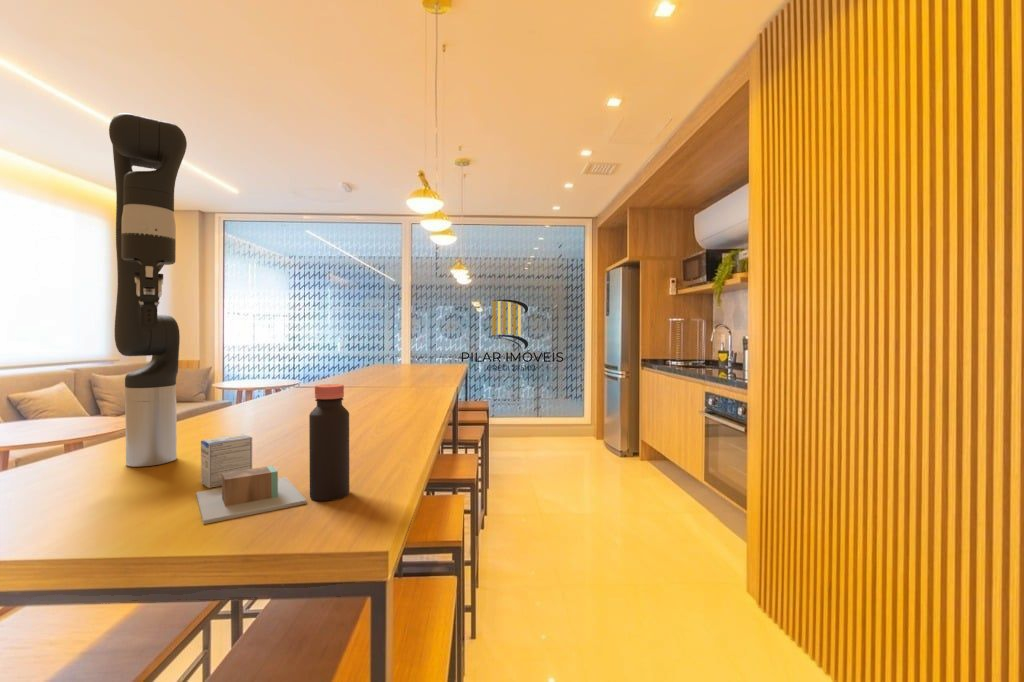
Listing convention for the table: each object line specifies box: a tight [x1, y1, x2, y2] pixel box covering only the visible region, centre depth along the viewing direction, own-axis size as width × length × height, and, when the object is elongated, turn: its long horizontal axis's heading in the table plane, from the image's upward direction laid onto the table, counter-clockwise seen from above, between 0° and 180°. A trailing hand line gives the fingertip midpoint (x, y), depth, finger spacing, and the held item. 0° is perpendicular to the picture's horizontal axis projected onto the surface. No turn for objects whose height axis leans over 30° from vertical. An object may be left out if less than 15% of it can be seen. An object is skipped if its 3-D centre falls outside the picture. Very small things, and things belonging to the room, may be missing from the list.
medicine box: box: [200, 433, 253, 489], centre depth 95 cm, size 8×4×9 cm, turn 141°
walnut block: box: [221, 465, 279, 507], centre depth 84 cm, size 4×4×8 cm
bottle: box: [308, 383, 350, 502], centre depth 87 cm, size 7×7×20 cm
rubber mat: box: [195, 476, 307, 525], centre depth 85 cm, size 16×15×1 cm
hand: (149, 328), depth 84 cm, fingers open, 8 cm apart
